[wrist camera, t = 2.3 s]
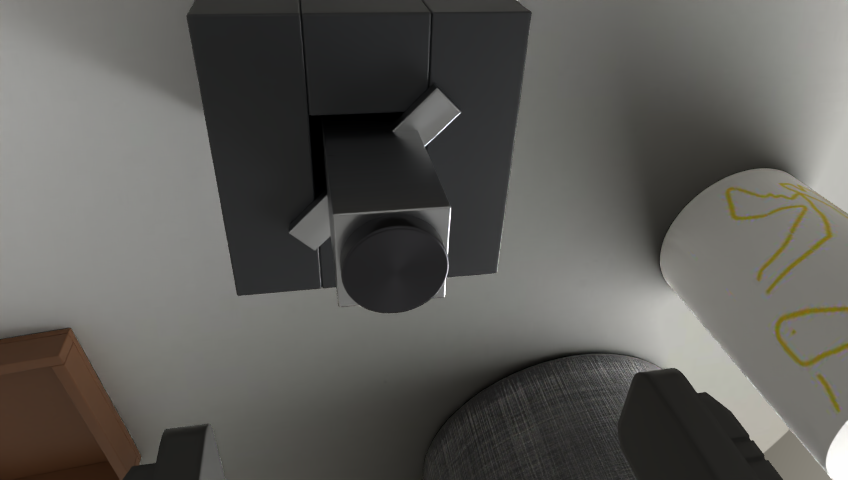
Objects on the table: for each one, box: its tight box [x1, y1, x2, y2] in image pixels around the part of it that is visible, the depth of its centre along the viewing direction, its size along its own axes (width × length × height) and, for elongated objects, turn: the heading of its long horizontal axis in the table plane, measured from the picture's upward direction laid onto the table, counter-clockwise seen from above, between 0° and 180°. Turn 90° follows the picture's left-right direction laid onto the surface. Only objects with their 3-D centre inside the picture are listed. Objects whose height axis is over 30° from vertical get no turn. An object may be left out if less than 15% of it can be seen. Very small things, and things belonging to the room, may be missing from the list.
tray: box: [0, 328, 141, 480], centre depth 40 cm, size 14×12×2 cm
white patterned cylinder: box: [660, 168, 848, 480], centre depth 38 cm, size 12×12×17 cm
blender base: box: [187, 0, 532, 296], centre depth 26 cm, size 10×10×14 cm
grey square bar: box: [289, 83, 461, 313], centre depth 21 cm, size 6×6×15 cm
